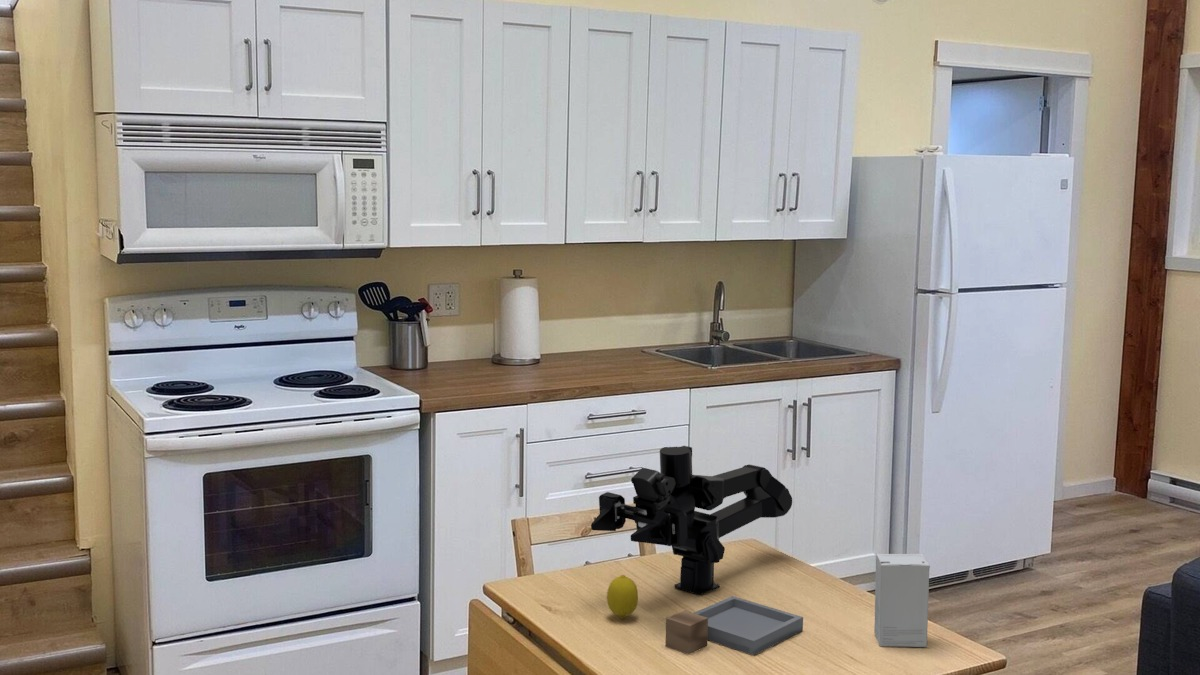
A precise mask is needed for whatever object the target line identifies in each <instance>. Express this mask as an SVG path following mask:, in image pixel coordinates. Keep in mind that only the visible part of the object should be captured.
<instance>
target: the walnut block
mask: <svg viewBox="0 0 1200 675" xmlns="http://www.w3.org/2000/svg"><path fill="white" fill-rule="evenodd" d="M707 635H708V618H707V617H703V616H700V615H697V614H694V612H692V611H691V612H690V611H689V610H688V611H687V610H682V611H679V612H678V613H675V614H673V615H669V616H667V617H666V618H665V647H666V648H670V649H672V650H675V651H678V652H682V653H684V654H687V655H691V654H693V653H695V652H697V651H700V650H702V649H704V648H706V647H707V646H708V640H707ZM699 649H700V650H699Z"/></svg>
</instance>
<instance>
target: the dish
mask: <svg viewBox="0 0 1200 675" xmlns="http://www.w3.org/2000/svg"><path fill="white" fill-rule="evenodd" d="M693 613H694V614H697V615H700V616H703V617H707V618H708V635H707V641H709V642H712V643H715V644H718V645H721V646H724V647H727V648H730V649H733V650H736V651H739V652H740V653H741V652H742V653H744V654H747V655H751V656H755V654H756V655H758V654H760V653H761V652H763V651H765V650H768V649H769V648H772V647H774V646H776V645H777V644H779V643H781V642H783V641H785V640H788V639H789V638H791V637H793V636H795V635H797V634H799V633H801V632H803V631H804V630H803V629H804V617H803V616H800V615H798V614H796V613H795V614H794V613H791V612H788V611H784V610H781V609H778V608H774V607H772V606H768V605H764V604H762V603H758V602H755V601H751V600H747V599H744V598H741V597H737V596H734V595H732V596H729V597H726V598H725V599H722V600H720V601H718V602H715V603H714V604H711V605H708V606H706V607H703V608H702V609H699V610H696V611H694V612H693Z"/></svg>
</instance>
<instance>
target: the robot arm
mask: <svg viewBox="0 0 1200 675" xmlns="http://www.w3.org/2000/svg"><path fill="white" fill-rule="evenodd" d="M692 458H693V447H691V446H687V445H681V446H664V447H662V448H660V449H659V470H660V472H659V471H658V470H656V469H650V468H646V467H642V468H640V469H639V470H638V471H637V472H636V473H635V474H634V475H633V476H632V477H631V480H630V481H631V483H632V485H633V488H634V490H635V494H636V495H635V496H633V497H632V501H633V503H632V504H634V506H633V505H630V504H626V499H625V497H624V496H622V495H621V494H617V493H614V492H609V491H607V492H604V493H601V494H600V495H599V496H598V503H599V504H598V507H599V509H598V510H599V513H598V515H597V516H596V518H595V519H593V521H592V522H591V524H590V530H591V531H599V532H600V531H601V532H609V531H610V532H616V531H617V530H621V529H622V528H623V527H624V526H625V524H626V521H627V520H626V519H628V520H631V521H634V523H635V524H636V528H635V529H636V531H634V532H633V533H632V534H630V541H631V542H635V543H643V544H652V545H660V546H667V547H671V548H672V549H671V550H672V553H673V555H676V556H680V557H681V560H680V561H681V563H680V564H681V565H680V577H679V581H680V582H678V583H676V584H674V588H675V589H678V590H682V591H683V592H684V591H685V592H688V593H692V594H694V595H697V596H703V595H705V594H707V593H710V592H712V591H715V590H717V589H719V588H720V587H721V584H719V583H716V582H714V580H715V579H714V578H715V576H714V575H715V574H714V572H715V563H717V564H718V563H720V561H721V560H723V558H724V554H725V546H724V545H723V544H722V542H721V541H720V538H722V537H724V536H726V535H728V534H730V533H732V532H734V531H736V530H739V529H740V528H742V527H744V526H746V525H748V524H750V523H753V522H755V521H757V520H758V519H760V518H768V519H769V518H772V519H773V518H780V517H783V516H785V515H787V514H788V513H789V511H790V509H791V508H792V505H793V497H792V495H791V493H790V491H789V488H787V486H786V485H784V484H783V483H782V482H781V481H780V480H778V479H777V478H776V477H775V476H773V475H772V474H771V472H770V470H769V469H767V468H765V467H763V466H759V465H754V464H746V465H743V466H742V467H739V468H736V469H733V470H728V471H726V472H722V473H719V474H716V475H700V474H693V459H692ZM741 493H743V494H744V495H745V498H743V499H740V500H738V501H736V502H733V503H732V504H729V505H728V506H725V507H723V508H721V509H718V510H717V511H715V512H712V513H710V514H709V513H705V512H703V511H702V512H701V511H697V510H695V509H696V508H697V509H701V510H704V511H705V510H706V511H713V510H715V509H716V508H718V507H719V506H721V505H722V504H723V501H724V499H726V498H728V497H730V496H731V497H732V496H735V495H737V494H741Z"/></svg>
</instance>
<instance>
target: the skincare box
mask: <svg viewBox="0 0 1200 675" xmlns="http://www.w3.org/2000/svg"><path fill="white" fill-rule="evenodd" d="M875 554H876V555H875V576H874V577H875V584H874V586H875V588H874V590H875V591H874V594H875V595H874V627H873V628H874V635H875V637H876V638H875V639H876V640H877V642H878V645H879V647H901V648H902V647H905V648H906V647H908V648H909V647H910V648H913V647H914V648H926V647H928V626H929V625H928V620H929V598H930V597H929V591H930V590H929V589H930V568H931V566H930V563H929V562H928V561H927V559H926V557H925V556H924V555H923V553H875Z"/></svg>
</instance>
